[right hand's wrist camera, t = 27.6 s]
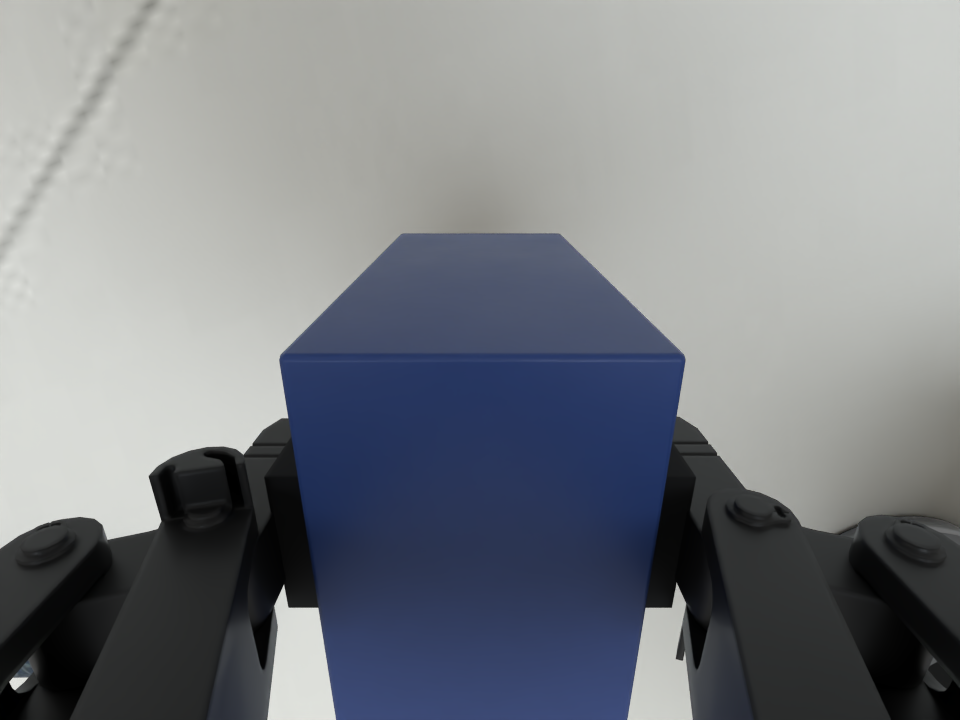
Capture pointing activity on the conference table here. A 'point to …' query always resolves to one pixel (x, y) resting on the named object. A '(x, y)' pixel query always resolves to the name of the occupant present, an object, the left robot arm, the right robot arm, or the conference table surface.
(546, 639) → the brick
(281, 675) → the conference table surface
